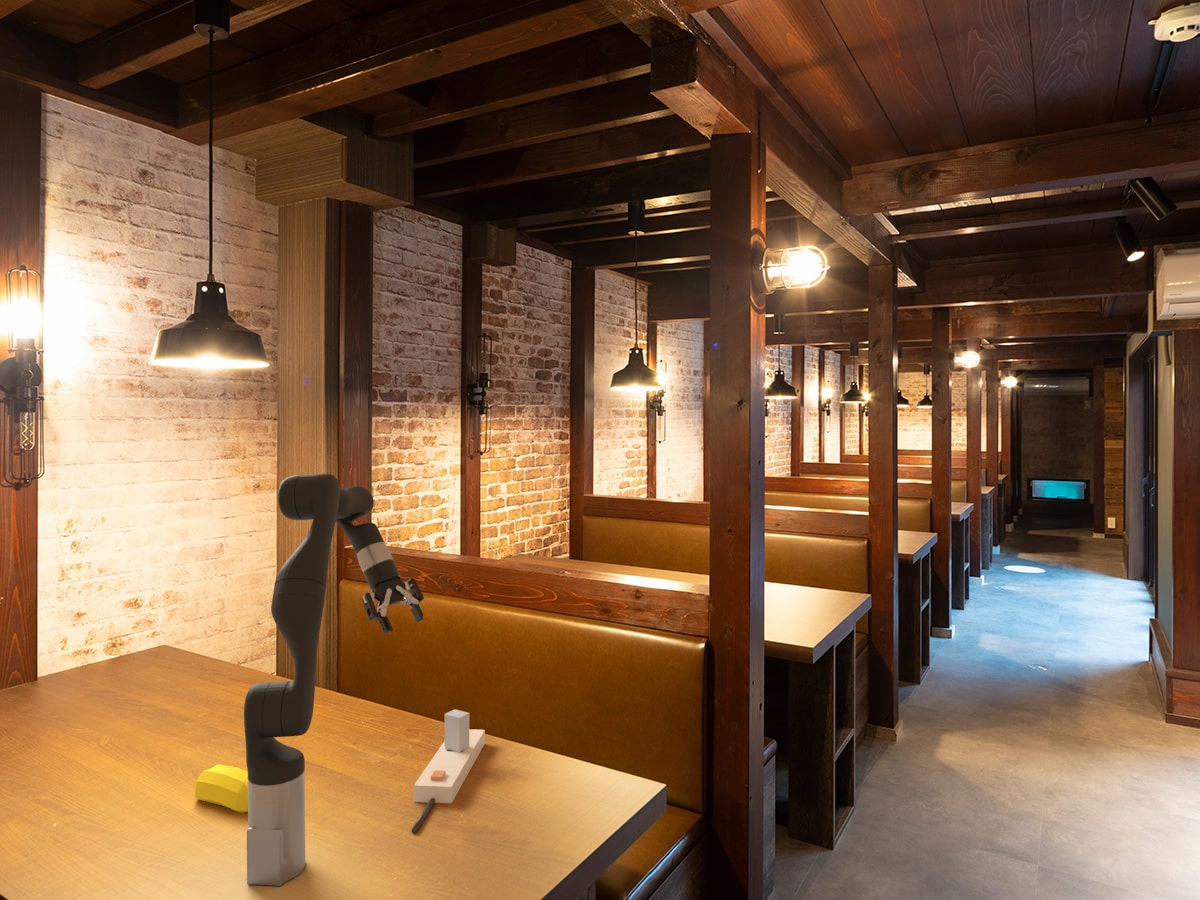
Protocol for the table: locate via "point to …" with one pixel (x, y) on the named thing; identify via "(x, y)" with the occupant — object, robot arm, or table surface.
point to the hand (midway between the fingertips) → (405, 626)
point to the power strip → (446, 774)
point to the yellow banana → (224, 787)
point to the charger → (457, 730)
